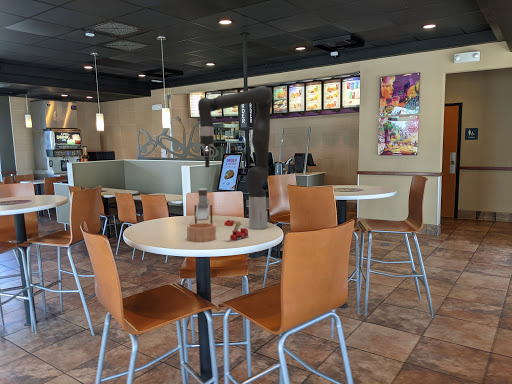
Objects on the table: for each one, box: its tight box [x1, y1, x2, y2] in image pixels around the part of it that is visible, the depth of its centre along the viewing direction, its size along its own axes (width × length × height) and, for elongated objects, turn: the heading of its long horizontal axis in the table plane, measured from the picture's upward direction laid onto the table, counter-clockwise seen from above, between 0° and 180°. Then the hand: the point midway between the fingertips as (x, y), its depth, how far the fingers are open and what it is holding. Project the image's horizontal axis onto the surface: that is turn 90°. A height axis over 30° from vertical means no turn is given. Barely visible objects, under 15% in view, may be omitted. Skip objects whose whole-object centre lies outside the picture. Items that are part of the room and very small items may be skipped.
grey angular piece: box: [196, 187, 210, 221], centre depth 194 cm, size 18×6×13 cm, turn 3°
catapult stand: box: [193, 204, 214, 224], centre depth 198 cm, size 14×12×14 cm
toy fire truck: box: [224, 219, 249, 241], centre depth 181 cm, size 3×14×10 cm, turn 141°
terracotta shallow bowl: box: [186, 222, 217, 243], centre depth 182 cm, size 13×13×6 cm
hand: (207, 167), depth 211 cm, fingers closed
